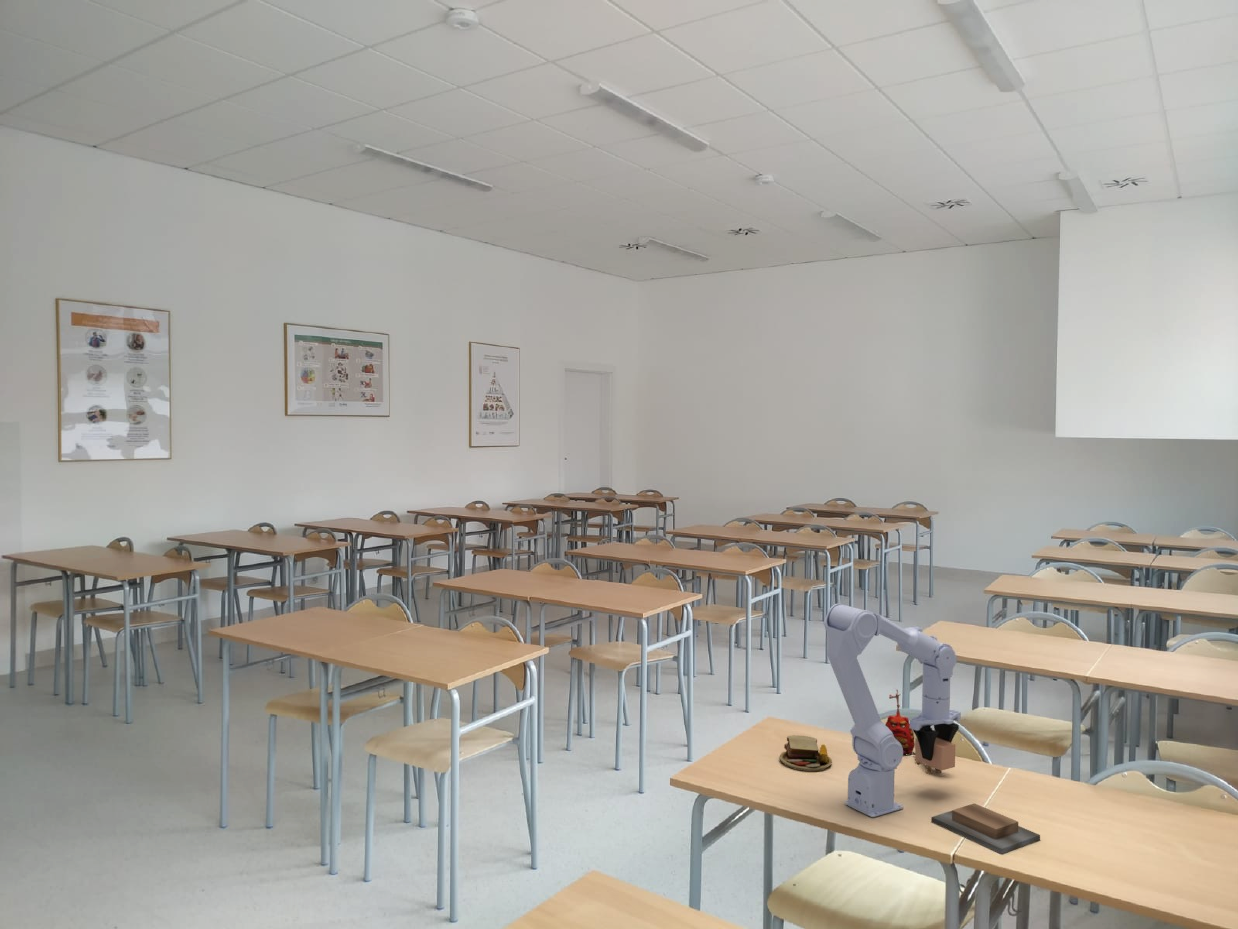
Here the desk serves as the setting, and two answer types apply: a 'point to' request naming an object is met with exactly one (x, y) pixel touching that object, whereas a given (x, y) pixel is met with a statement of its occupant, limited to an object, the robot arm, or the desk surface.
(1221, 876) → the desk surface
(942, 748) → the terracotta brick
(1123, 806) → the desk surface
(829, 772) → the desk surface
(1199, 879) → the desk surface
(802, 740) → the toy sandwich meal
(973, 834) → the tower base
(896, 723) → the red clay folk toy
